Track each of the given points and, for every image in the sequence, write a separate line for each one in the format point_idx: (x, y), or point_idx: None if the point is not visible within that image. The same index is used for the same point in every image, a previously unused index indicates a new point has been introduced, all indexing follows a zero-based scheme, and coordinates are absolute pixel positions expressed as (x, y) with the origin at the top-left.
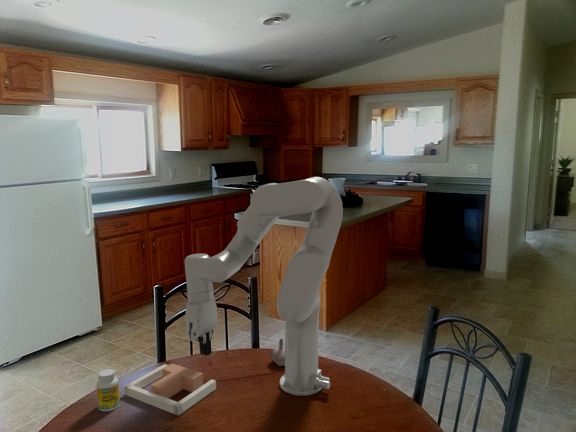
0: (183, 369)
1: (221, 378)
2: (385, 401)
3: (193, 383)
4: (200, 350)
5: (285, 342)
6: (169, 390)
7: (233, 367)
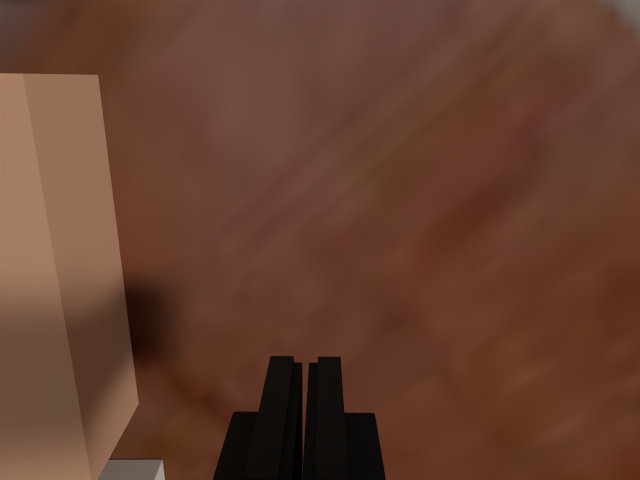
0: (17, 296)
1: None
2: None
3: None
4: (231, 427)
5: None
6: None
7: (482, 418)
